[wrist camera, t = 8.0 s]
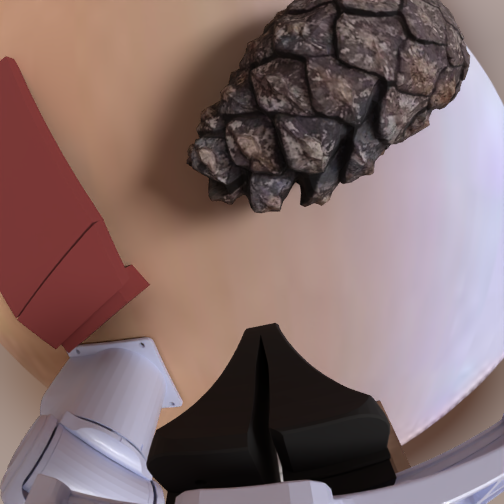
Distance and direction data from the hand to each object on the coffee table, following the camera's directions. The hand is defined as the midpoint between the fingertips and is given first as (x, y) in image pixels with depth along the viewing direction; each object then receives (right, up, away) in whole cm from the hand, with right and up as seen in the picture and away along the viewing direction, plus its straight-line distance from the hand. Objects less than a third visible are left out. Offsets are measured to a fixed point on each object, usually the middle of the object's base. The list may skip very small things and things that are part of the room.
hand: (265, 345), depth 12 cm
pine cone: (+4, +14, +6) cm, 15 cm away
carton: (-19, +9, +7) cm, 22 cm away
